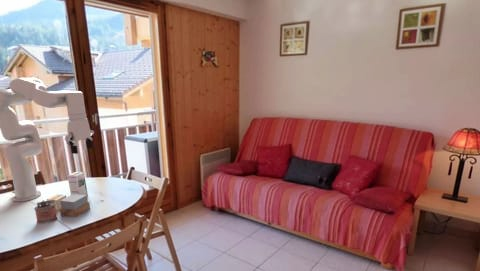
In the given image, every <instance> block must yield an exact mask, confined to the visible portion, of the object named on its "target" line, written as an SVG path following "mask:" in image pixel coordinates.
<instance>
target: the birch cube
mask: <svg viewBox="0 0 480 271" xmlns="http://www.w3.org/2000/svg"><path fill="white" fill-rule="evenodd" d="M66 197H67V194H66V195H65V194H57V193H56V194H55V195H52V196H50V197H48V198H46V201H47V200H53V203H50V204H55V209H56V212H60V208H61V203H60V200H62V199H64V198H66Z"/></svg>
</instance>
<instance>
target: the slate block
mask: <svg viewBox="0 0 480 271" xmlns="http://www.w3.org/2000/svg"><path fill="white" fill-rule="evenodd" d="M88 202H89V201H88V197H87V195H80V194H73V195H71V194H70V195H67V196H66V198H64V199H62V200H60V203H61V208H63V209H72V210H76V209H77V208H79V207H81V206H83V205H85V204H86V203H88Z"/></svg>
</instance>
